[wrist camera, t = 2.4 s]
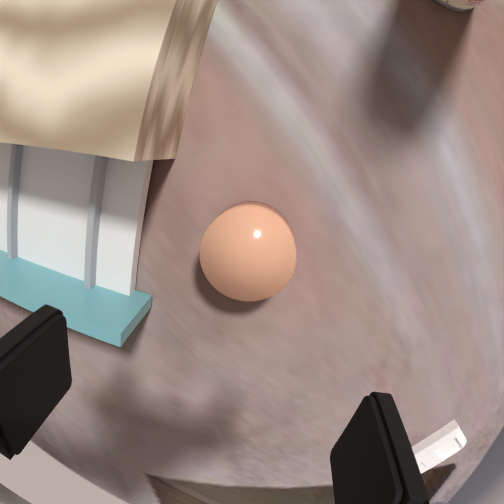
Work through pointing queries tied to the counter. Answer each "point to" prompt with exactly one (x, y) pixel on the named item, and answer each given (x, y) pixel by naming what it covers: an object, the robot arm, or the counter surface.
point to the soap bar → (439, 446)
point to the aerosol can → (459, 4)
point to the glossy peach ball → (248, 252)
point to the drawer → (73, 236)
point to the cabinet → (99, 74)
